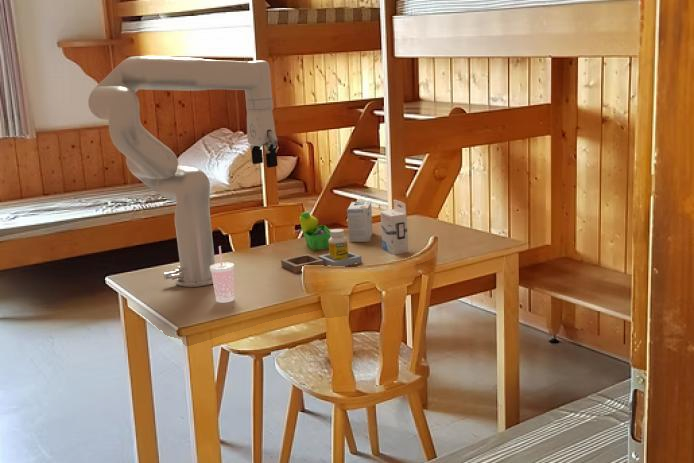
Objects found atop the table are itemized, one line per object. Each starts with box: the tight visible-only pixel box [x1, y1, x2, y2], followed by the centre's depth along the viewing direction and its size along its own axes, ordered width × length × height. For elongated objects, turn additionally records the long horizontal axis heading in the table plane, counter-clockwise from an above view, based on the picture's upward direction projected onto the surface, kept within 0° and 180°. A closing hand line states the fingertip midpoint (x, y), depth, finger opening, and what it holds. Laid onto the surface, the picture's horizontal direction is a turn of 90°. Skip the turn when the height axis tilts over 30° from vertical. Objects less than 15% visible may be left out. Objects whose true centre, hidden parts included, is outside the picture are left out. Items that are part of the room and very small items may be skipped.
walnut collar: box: [280, 253, 325, 274], centre depth 234 cm, size 9×9×2 cm
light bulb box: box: [346, 200, 374, 243], centre depth 262 cm, size 11×7×11 cm, turn 172°
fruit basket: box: [298, 211, 331, 251], centre depth 255 cm, size 11×9×11 cm
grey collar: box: [317, 250, 363, 267], centre depth 235 cm, size 9×9×2 cm
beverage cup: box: [210, 245, 235, 304], centre depth 208 cm, size 6×6×14 cm
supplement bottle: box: [328, 228, 349, 261], centre depth 235 cm, size 5×5×10 cm
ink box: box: [380, 199, 409, 255], centre depth 243 cm, size 8×5×15 cm, turn 23°
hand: (264, 165), depth 237 cm, fingers open, 9 cm apart
